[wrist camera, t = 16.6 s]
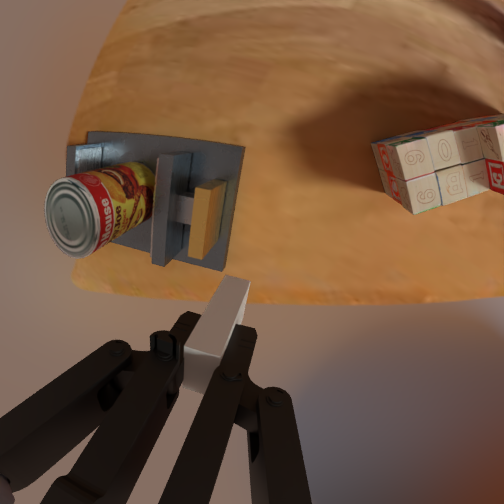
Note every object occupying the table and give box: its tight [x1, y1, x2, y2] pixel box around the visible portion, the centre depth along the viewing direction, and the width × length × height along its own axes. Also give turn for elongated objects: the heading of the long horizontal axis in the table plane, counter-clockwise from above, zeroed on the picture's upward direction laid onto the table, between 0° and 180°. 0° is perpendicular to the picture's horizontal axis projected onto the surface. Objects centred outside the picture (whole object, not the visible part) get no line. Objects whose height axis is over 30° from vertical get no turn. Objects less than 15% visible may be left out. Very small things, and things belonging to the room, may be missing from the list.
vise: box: [66, 131, 245, 272], centre depth 32 cm, size 22×15×6 cm
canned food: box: [44, 162, 155, 259], centre depth 28 cm, size 8×8×12 cm
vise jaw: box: [150, 151, 227, 267], centre depth 30 cm, size 6×12×6 cm, turn 170°
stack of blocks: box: [371, 114, 504, 215], centre depth 20 cm, size 21×6×12 cm, turn 112°
